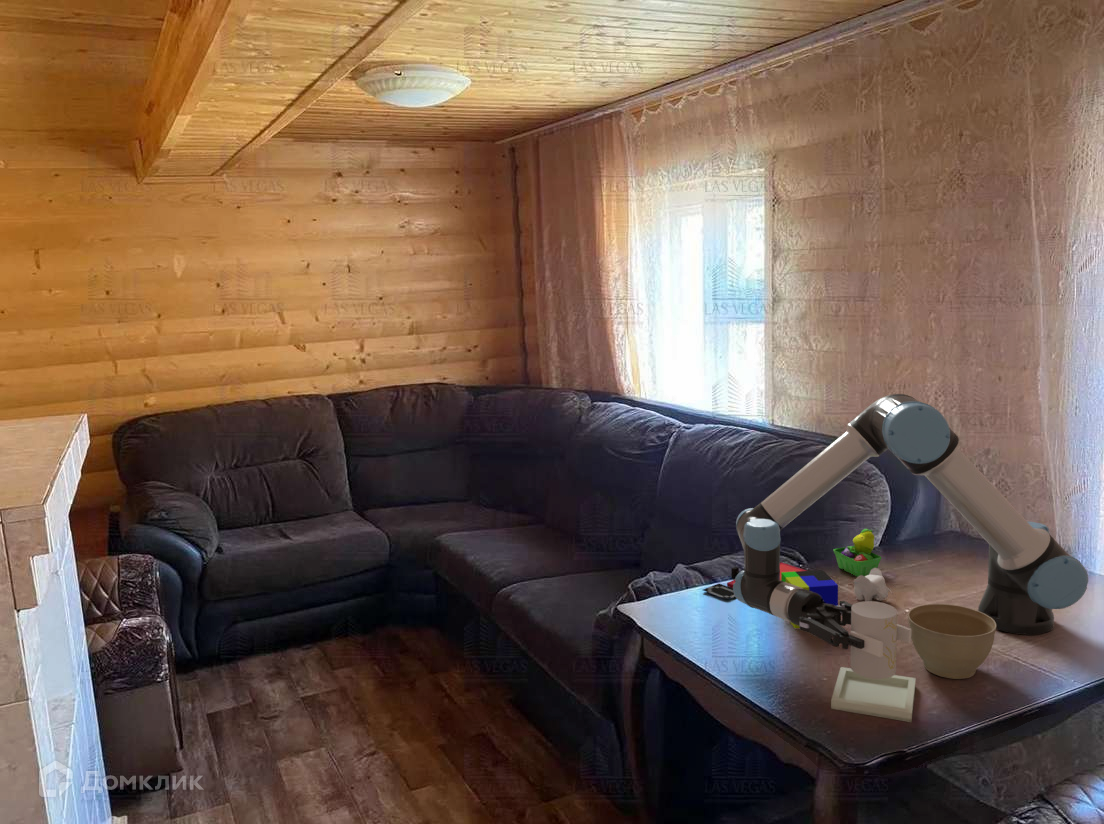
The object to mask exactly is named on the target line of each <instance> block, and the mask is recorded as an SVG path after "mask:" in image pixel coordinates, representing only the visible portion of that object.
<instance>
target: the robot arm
mask: <svg viewBox="0 0 1104 824" xmlns="http://www.w3.org/2000/svg"><path fill="white" fill-rule="evenodd" d="M960 442H961V439H960V437H959V436H958V435H957V434H956V433H955V431H954V430H952V428H951V427H950V426H949V423H948V422H947V420H946V418H945V416H944V415H943V414H942V413H941V412H940V411H939V410H938V409H936V408H935V407H934V406H932V405H930V404H928V403H926V402H925V403H924V402H922V401H920V400H918V399H916V398H914V397H912V396H911V395H908V394H904V393H891V394H888V395H885V396H884V395H883V396H882V397H881V398H879V399H877V400H876V401H874V402H873V403H871V404H870V405H869V406H867V407H866V408H865V409H864V410H862V411H861V413H859V414H858V415H857V416H856V417H855V418H853V419H852V420H851V421H850V422H848V423H847V426H846V431H845V432H844V433H843V434H842V435H840V436H839V437H837V439H836V440H834V441H833V442H831V444H829V445H828V446H827V447H826V448H825V449H823V450H822V451H821V452H820V453H818V455H816V456H815V457H814V458H813V459H811V460H810V461H809V462H807V464H805V465H804V466H803V467H802V468H801V469H800V470H798V471H797V472H796V473H795V474H793V476H791V477H790V478H789V479H788V480H786V481H785V482H784V483H783V484H782V485H780V486H779V487H778V488H777V489H775V491H774V492H772V493H771V494H770V495H768V496H767V497H766V498H764V500H762V501H761V502H759V503H758V505H756V506H755V507H754V508H753V507H752V508H751V507H750V508H746V509H744V510H742V511H741V512H740V513H739V514H738V516H737V517H736V522H735V528H736V534H737V536H738V537H739V540H740V544H741V546H742V549H743V560H744V562H743V563H744V564H743V565H744V566H743V567H744V568H743V570H741V571H740V572H739V573H738V575H737V576H736V577H735V578H734V580H735V583H734V584H733V592H734V595H735V599H737V600H738V601H739V603H742V604H744V605H746V606H747V607H749V608H751V609H755V610H759V611H761V612H765V613H767V614H770V615H772V616H774V617H777V618H779V619H782V620H784V621H785V622H789V623H790V622H792V623H793V624H796V625H798V626H800V629H799V630H800V631H802V632H806V633H808V634H811V635H812V636H814V637H815V638H818V639H820V640H822V641H823V642H825V643H827V644H828V645H830V646H832V647H835V648H837V647H840V645H841V649H843V650H849V646H850V647H851V646H853V647H856V648H858V649H861V650H863V651H866V652H868V653H871V654H873V655H876V656H878V657H882V656H883V642H881V641H878V640H876V639H873V638H871V637H868V636H865V635H863V634H860V633H857V632H855V631H851V630H850V631H849V630H847V629H846V628H844V627H845V626H847V625H850V626H851V607H852V605H853V604H854V603H853V604H851V603H850V602H847V601H845V600H840V601H839V604H838V606H835V605H833V604H827V603H825V602H824V601H823V599H822V597H821V596H820V595H819V594H817V593H815V592H812V591H809V590H806V589H803V588H801V587H798V586H795V585H792V584H789V583H786V582H784V581H781V580H780V563H781V542H782V538H781V530H782V529H784V528H785V527H787V525H789V524H790V522H792V521H793V520H794V519H796V518H797V517H798V516H800V515H801V514H802V513H803V512H804V511H806V510H807V509H808V508H810V507H811V506H812V505H813V504H814V503H816V501H818V500H819V499H820V498H821V497H823V496H824V495H826V494H827V493H828V492H829V491H831V490H832V489H833V488H834V487H836V485H838V484H839V483H840V482H841V481H842V480H844V479H845V478H846V477H848V476H849V475H850V474H851V473H853V472H854V471H855V470H856V469H858V468H859V467H860V466H861V465H862V464H863V463H864V462H866V461H867V460H869V459H870V458H872V457H875V458H878V457H880V456H881V455H883V454H884V452H886V451H887V450H889V451H890V452H891V453H892V454H893V455H894V456H895V457H896V458H897V459H898V460H899V461H900V462H901V464H903V466H904V467H906V469H907V470H908V471H909V472H910V473H911V474H912V475H915V476H925V478H927V480H928V481H929V482H930V483H931V484H932V485H933V486H934V487H935V488H936V489H937V490H938V491H939V493H940V494H942V496H943V497H944V498H945V499H946V500H947V501H948V502H949V503H950V504H951V505H952V506H953V508H954V509H955V510H956V511H958V513H959V514H961V516H962V517H963V518H964V519H965V520H966V521H967V522H968V523H969V524H970V525H971V526H972V528H973V529H974V530H975V531H976V532H977V533H978V534H979V535H980V536H981V537H982V538H983V539H984V540H985V542H987V543H988V561H987V562H988V566H987V567H988V568H987V570H988V571H987V586H986V588H985V590H984V593H983V596H982V597H981V600H980V602H979V605H978V609H977V611H980V612H982V613H984V614H986V615H988V616H989V617H991V618H992V619H993V620H994V621H995V622H996V631H997V630H998V631H1000V632H1005V633H1010V634H1017V635H1029V636H1030V635H1041V634H1045V633H1048V632H1051V631H1052V630H1053V629H1054V626H1055V616H1054V612H1053V610H1061V609H1065V608H1068V607H1071V606H1073V605H1075V604H1076V603H1077V602H1078V601H1080V599H1082V598H1083V596H1084V595H1085V593H1086V592H1087V589H1088V584H1089V575H1088V571H1087V569H1086V568H1085V567H1084V565H1083V564H1082V563H1081V561H1080V560H1079V559H1078V558H1075V557H1074V556H1072V555H1070V554H1069V553H1068V552H1067V551H1066V550H1065V549H1064V548H1063V547H1062V546H1061V545H1060V544H1059V542H1058V541H1057V540H1056V539H1054V537H1053V536H1052V535H1051V533H1050V528H1049V527H1048V526H1047V525H1046V524H1043V523H1039V522H1034V521H1027V519H1025V518H1024V517H1023V515H1022V514H1020V512H1019V511H1018V510H1017V509H1016V508H1015V507H1014V506H1013V505H1012V504H1011V503H1010V501H1009V500H1008V499H1006V497H1005V496H1004V495H1003V494H1002V493H1001V492H1000V491H999V489H997V487H995V485H994V484H992V482H990V481H989V479H988V478H987V477H986V476H985V475H984V474H983V473H982V472H981V471H980V470H979V468H978V467H976V465H975V464H974V463H973V462H972V461H971V460H970V459H969V458H968V457H967V456H966V455H965V454H964V453H963V451H962V450H961V449H960ZM897 640H898V641H900V642H904V643H905V644H906V643H907V644H911V643H912V639H911V629H910V628H909V627H907V626H904V625H901V624H899V623H897Z"/></svg>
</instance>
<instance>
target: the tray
mask: <svg viewBox="0 0 1104 824" xmlns="http://www.w3.org/2000/svg"><path fill="white" fill-rule="evenodd" d="M837 675H838V676H837V679H836V681H835V685H834V688H833V692H832V696H831V700H830V704H831V705H830V708H831V710H836V711H842V712H849V713H853V714H861V715H867V716H871V717H878V718H885V719H890V720H897V721H901V722H908V723H912V719H913V713H914V712H913V710H914V704H915V703H914V702H915V693H916V680H917V679H916V677H911V676H910V677H909V676H904V675H897V674H895V675H894V676H892V677H890V678H886V679H872V678H866V677H863V676H860V675H858V674H856V673H855V672H853V671H852V669H851V667H844V666H841V667H840V668H839V671H838V674H837Z"/></svg>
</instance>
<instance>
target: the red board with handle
mask: <svg viewBox="0 0 1104 824" xmlns="http://www.w3.org/2000/svg"><path fill="white" fill-rule="evenodd" d="M795 571H808V570H807V569H803V568H800V567H798V566H794V565H791V564H788V563H785V562H782V561H780V580H781V572H795ZM739 572H741V571H740V567H739V566H734V567H731V574H730V575H731V578H733V580H731V581H729V582H727V583H726V585H725V584H722V583H717V584H713V585H712V586H708V587H706V588H703V589H702V591H704V592H707V593H709V594H712V595H715V596H717V597H719V598H722V599H724V600H730V599H733V598H734V597H735V595H734V592H733V584H734V583H735V578H736V576H737V575H738V573H739ZM735 598H736V597H735Z"/></svg>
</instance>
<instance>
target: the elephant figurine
mask: <svg viewBox="0 0 1104 824" xmlns="http://www.w3.org/2000/svg"><path fill="white" fill-rule="evenodd" d="M853 584H854V588H853V591H854V595H855V598H856V599H857V600H858V601H873V599H874V600H875V599H876V601H878V602H880V601H883V600H885V599H887V598H888V596H889V592H890V593H891V594H892V595H894V593H893V591H892V590H891V589H890V588H889V587H887V584H886V579H885V578H884V576H883V573H882V571H881V569H880V568H873V569H872V570H871V571H870V574H869V575H867V576H865V577H864V576H862V575H860V576H858V577H856V578H855V579H853Z"/></svg>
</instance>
